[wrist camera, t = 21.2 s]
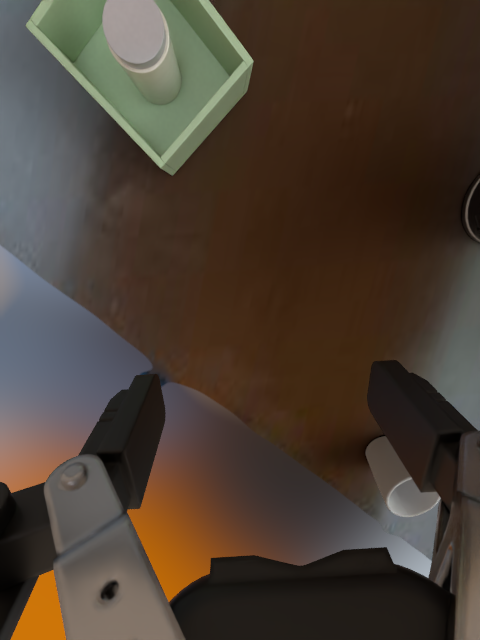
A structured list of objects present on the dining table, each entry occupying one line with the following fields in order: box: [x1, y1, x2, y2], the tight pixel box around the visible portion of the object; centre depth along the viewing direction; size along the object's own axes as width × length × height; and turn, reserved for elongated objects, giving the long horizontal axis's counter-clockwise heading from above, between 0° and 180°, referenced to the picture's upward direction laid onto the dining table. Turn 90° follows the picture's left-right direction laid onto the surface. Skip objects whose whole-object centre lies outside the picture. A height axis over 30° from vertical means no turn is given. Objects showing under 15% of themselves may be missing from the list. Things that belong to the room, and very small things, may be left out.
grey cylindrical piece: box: [102, 0, 182, 105], centre depth 25 cm, size 5×5×8 cm
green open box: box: [26, 0, 253, 176], centre depth 26 cm, size 11×13×7 cm
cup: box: [366, 436, 440, 517], centre depth 43 cm, size 8×10×8 cm
